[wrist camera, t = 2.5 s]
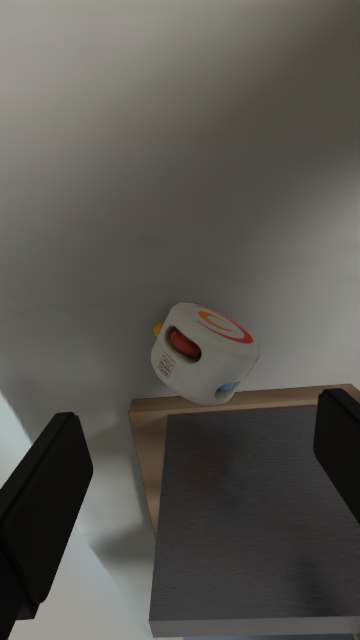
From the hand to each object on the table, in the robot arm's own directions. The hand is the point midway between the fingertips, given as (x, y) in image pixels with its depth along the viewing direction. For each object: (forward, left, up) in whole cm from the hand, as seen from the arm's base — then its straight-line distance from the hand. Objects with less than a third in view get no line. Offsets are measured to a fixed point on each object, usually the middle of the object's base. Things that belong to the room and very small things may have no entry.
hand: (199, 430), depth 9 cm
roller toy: (-1, +1, -9) cm, 9 cm away
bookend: (+6, +3, -7) cm, 10 cm away
